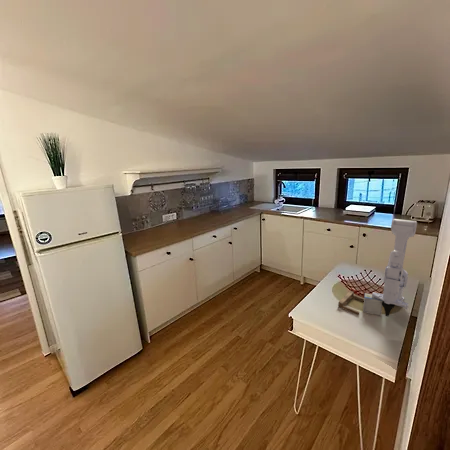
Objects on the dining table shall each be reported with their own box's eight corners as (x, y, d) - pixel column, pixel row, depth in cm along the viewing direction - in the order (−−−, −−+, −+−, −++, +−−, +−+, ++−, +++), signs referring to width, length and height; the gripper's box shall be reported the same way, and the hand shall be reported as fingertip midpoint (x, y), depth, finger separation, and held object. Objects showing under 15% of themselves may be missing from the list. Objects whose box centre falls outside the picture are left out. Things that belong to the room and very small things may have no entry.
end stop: (349, 295, 141) (350, 290, 140) (369, 302, 134) (369, 297, 133) (338, 306, 133) (338, 301, 132) (358, 315, 125) (358, 310, 124)
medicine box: (380, 310, 127) (382, 295, 125) (381, 316, 123) (383, 300, 121) (362, 307, 131) (364, 292, 128) (362, 312, 127) (364, 297, 124)
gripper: (370, 288, 120) (367, 312, 124) (407, 300, 110) (402, 326, 114) (376, 282, 125) (373, 306, 129) (411, 293, 114) (407, 318, 118)
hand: (387, 315), depth 122 cm, fingers closed
